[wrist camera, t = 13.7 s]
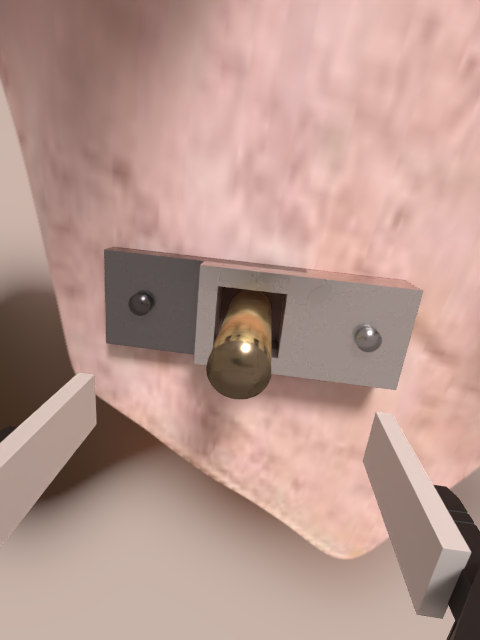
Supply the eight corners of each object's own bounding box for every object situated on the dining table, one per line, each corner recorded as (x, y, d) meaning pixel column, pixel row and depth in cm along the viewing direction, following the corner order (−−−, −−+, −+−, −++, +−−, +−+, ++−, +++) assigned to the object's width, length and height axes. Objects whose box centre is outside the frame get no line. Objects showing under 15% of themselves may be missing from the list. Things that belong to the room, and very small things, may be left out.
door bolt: (113, 246, 33) (88, 253, 29) (405, 280, 32) (427, 292, 27) (115, 335, 36) (92, 354, 31) (382, 369, 35) (399, 394, 30)
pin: (221, 306, 34) (193, 364, 22) (253, 281, 33) (243, 327, 21) (247, 337, 35) (234, 410, 23) (279, 313, 34) (284, 376, 22)
